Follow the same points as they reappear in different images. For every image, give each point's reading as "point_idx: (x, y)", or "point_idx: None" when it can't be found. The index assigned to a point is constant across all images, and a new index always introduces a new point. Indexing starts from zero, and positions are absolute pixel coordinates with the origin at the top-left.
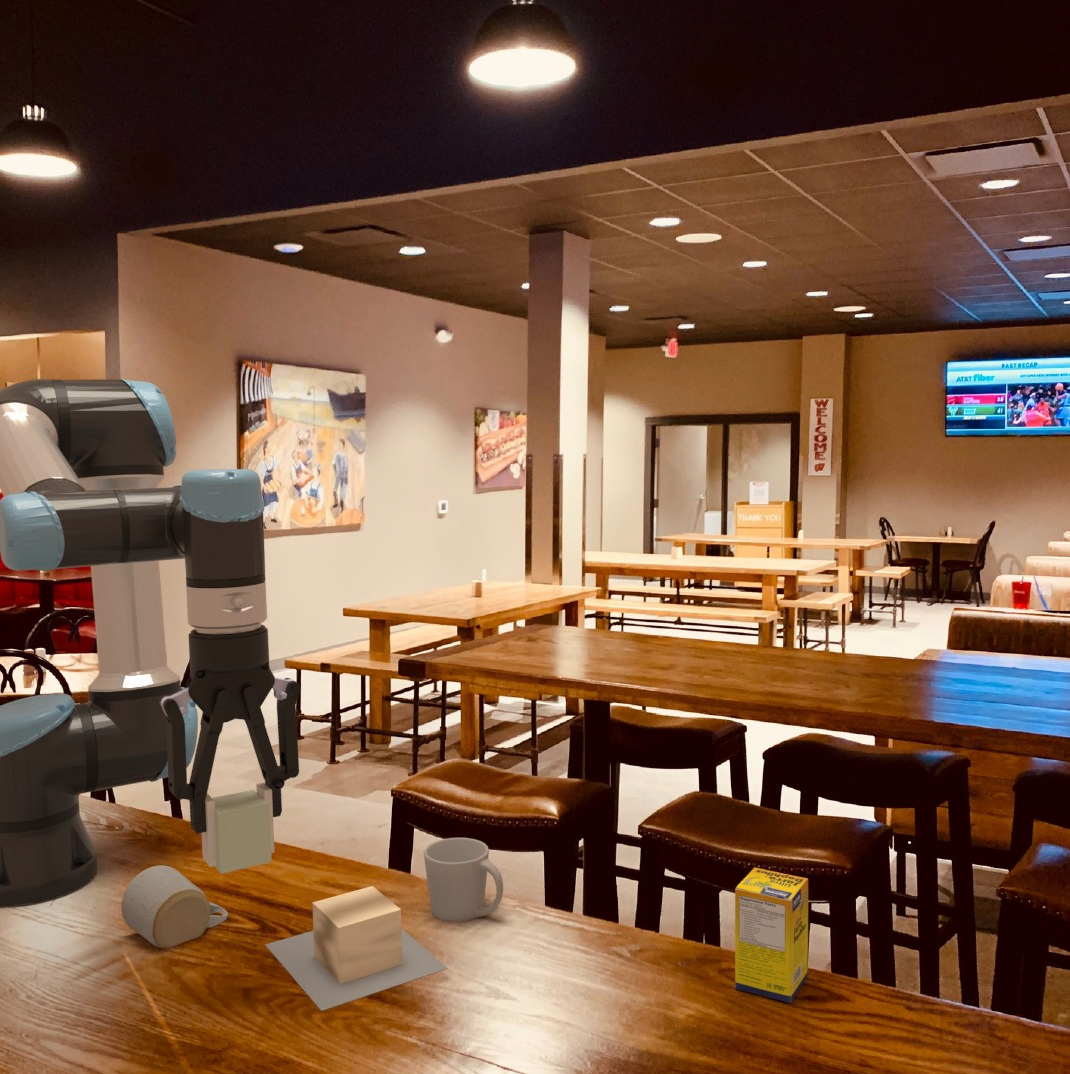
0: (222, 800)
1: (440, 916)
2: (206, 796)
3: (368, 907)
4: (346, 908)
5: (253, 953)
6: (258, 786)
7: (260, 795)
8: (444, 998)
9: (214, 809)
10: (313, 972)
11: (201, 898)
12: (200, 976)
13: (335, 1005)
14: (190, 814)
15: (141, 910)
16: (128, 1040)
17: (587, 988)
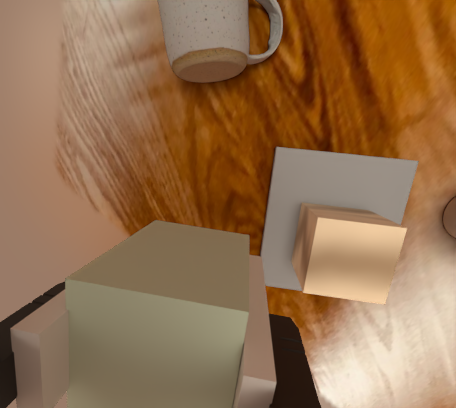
0: (113, 333)
1: (452, 224)
2: (27, 365)
3: (360, 275)
4: (339, 259)
5: (268, 134)
6: (238, 397)
7: (237, 383)
8: (349, 314)
9: (67, 387)
10: (284, 228)
11: (231, 61)
12: (210, 143)
13: (269, 285)
14: (28, 306)
15: (163, 30)
16: (131, 202)
17: (443, 376)
